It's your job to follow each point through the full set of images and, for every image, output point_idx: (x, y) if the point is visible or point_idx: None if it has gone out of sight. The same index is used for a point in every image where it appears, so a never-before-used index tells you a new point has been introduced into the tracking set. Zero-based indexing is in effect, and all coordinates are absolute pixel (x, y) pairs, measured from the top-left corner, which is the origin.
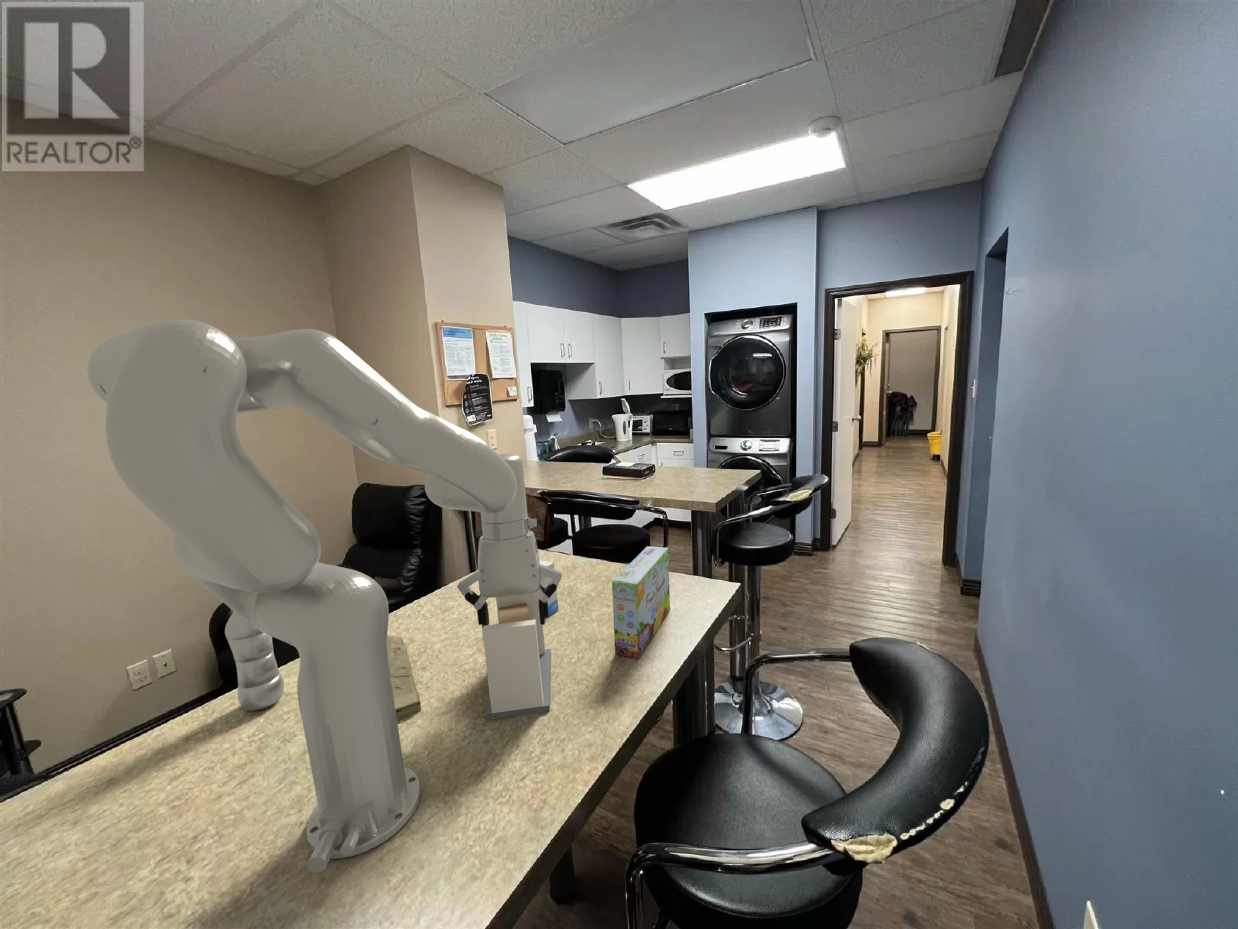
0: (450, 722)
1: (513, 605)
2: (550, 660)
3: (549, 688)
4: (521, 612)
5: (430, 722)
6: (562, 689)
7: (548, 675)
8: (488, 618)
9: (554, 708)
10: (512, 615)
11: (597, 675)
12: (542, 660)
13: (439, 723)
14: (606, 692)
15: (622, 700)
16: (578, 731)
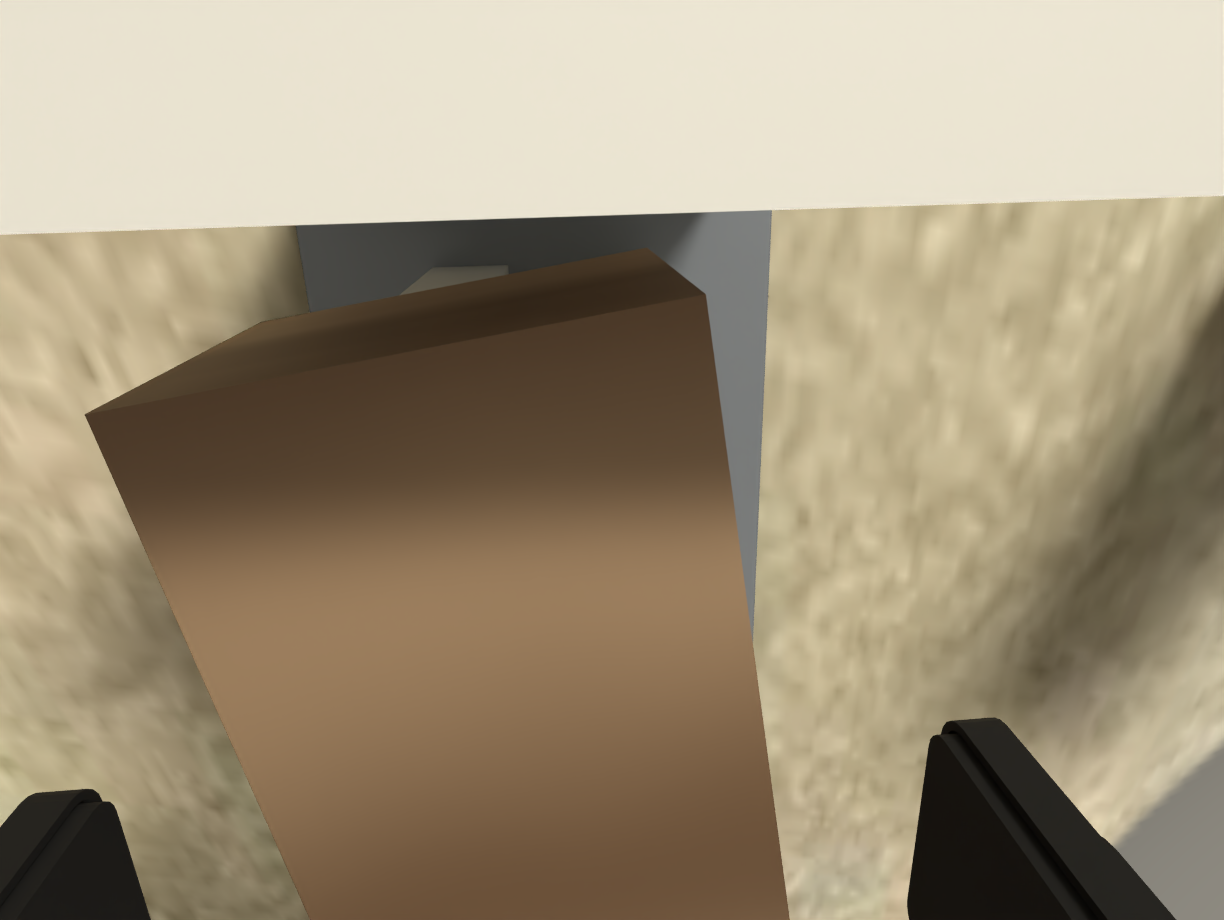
0: (188, 757)
1: (416, 363)
2: (765, 273)
3: (751, 626)
4: (634, 689)
5: (62, 746)
6: (820, 574)
7: (748, 493)
8: (64, 909)
9: (764, 720)
10: (481, 762)
11: (1058, 470)
12: (703, 281)
13: (124, 758)
14: (1063, 635)
15: (1122, 704)
16: (865, 866)
